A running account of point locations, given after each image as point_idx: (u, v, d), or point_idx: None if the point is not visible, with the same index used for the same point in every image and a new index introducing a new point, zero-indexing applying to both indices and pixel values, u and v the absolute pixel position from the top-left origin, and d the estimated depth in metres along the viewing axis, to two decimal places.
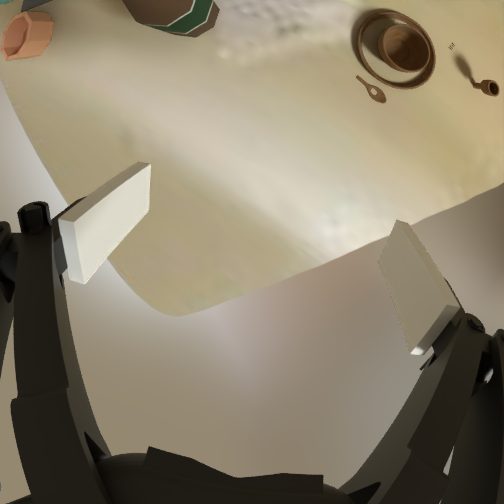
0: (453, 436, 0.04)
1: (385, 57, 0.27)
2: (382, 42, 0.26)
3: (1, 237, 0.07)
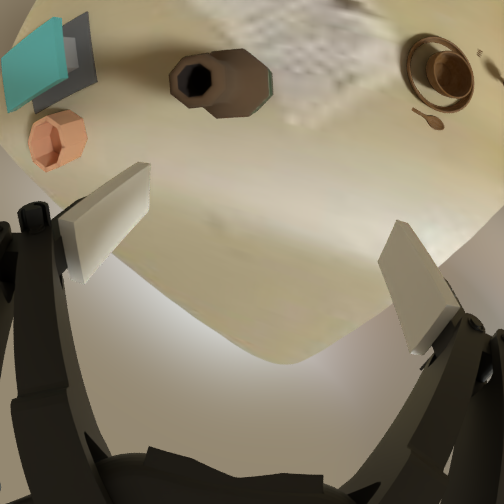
0: (453, 436, 0.04)
1: (439, 89, 0.28)
2: (434, 75, 0.27)
3: (1, 237, 0.07)
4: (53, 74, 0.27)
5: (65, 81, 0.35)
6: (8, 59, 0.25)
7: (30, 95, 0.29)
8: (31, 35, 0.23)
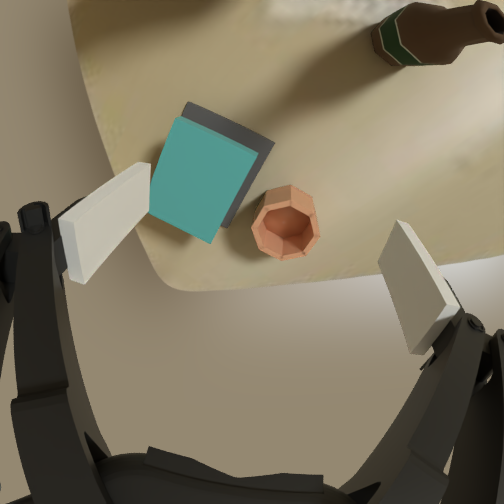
0: (453, 436, 0.04)
1: None
2: None
3: (1, 237, 0.07)
4: (243, 160, 0.34)
5: None
6: (156, 200, 0.38)
7: (229, 202, 0.37)
8: (164, 155, 0.34)
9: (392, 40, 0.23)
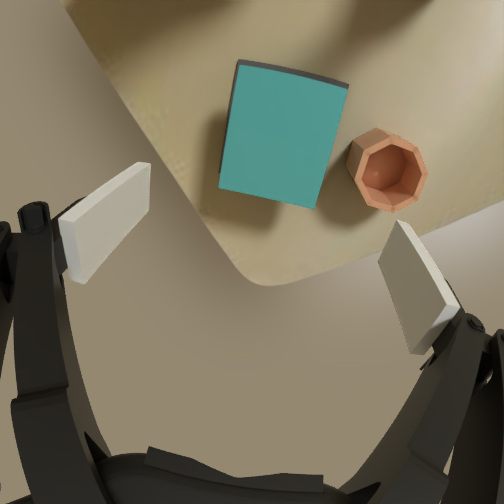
0: (453, 436, 0.04)
1: None
2: None
3: (1, 237, 0.07)
4: (333, 95, 0.25)
5: None
6: (235, 171, 0.31)
7: (328, 150, 0.28)
8: (235, 111, 0.27)
9: None
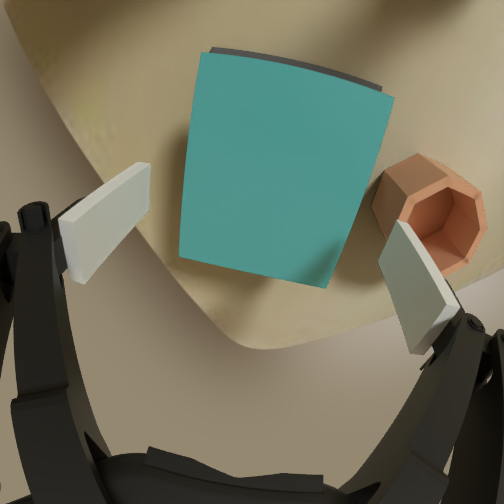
0: (453, 436, 0.04)
1: None
2: None
3: (1, 237, 0.07)
4: (370, 108, 0.14)
5: None
6: (202, 233, 0.20)
7: (356, 202, 0.17)
8: (196, 135, 0.16)
9: None
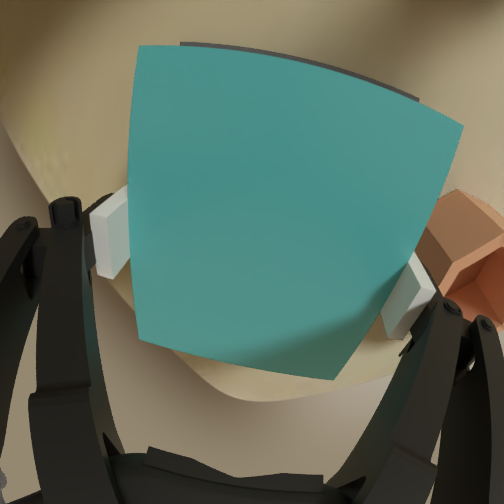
0: (438, 424, 0.05)
1: None
2: None
3: (27, 233, 0.07)
4: (427, 141, 0.08)
5: None
6: (165, 318, 0.13)
7: (389, 286, 0.11)
8: (139, 185, 0.10)
9: None
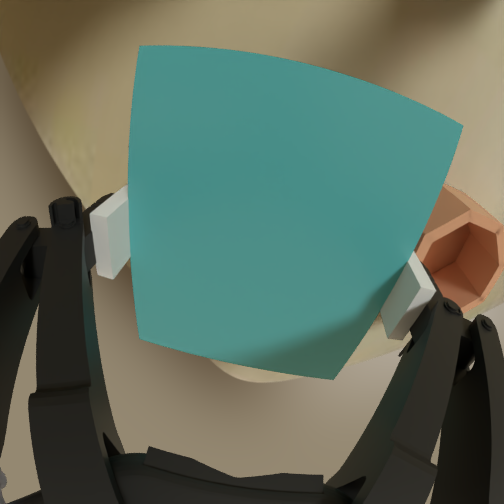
0: (437, 424, 0.05)
1: None
2: None
3: (27, 233, 0.07)
4: (426, 141, 0.08)
5: None
6: (165, 317, 0.13)
7: (389, 285, 0.11)
8: (139, 185, 0.10)
9: None
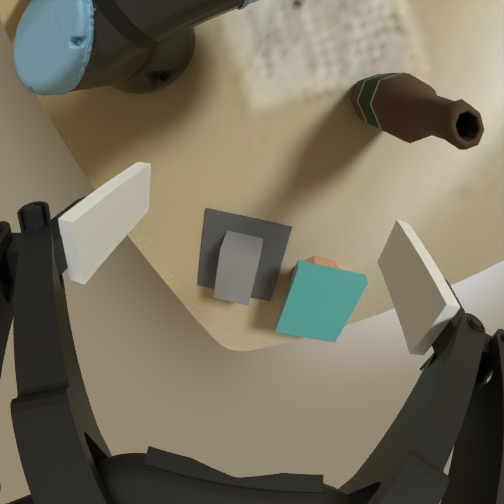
0: (453, 436, 0.04)
1: None
2: None
3: (1, 237, 0.07)
4: (357, 287, 0.42)
5: (266, 257, 0.50)
6: (288, 324, 0.48)
7: (348, 315, 0.45)
8: (292, 294, 0.44)
9: (372, 120, 0.29)
